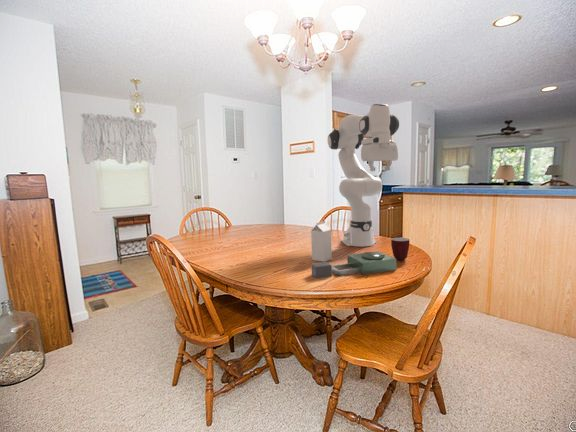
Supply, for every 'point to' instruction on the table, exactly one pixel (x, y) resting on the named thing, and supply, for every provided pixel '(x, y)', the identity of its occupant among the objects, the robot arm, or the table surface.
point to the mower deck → (366, 264)
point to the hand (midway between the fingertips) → (380, 171)
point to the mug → (400, 248)
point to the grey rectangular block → (321, 270)
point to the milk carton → (321, 242)
